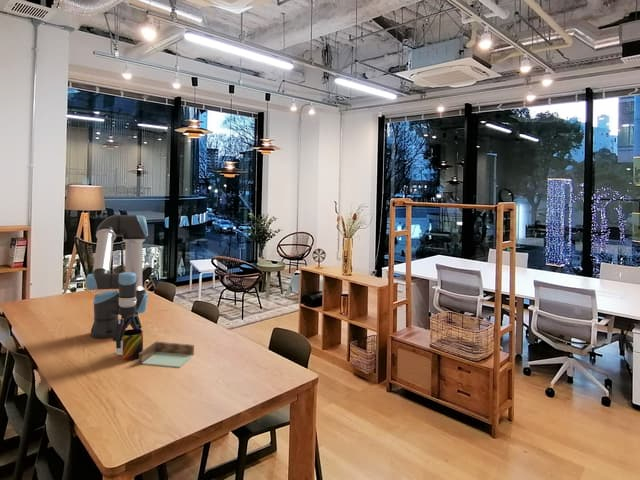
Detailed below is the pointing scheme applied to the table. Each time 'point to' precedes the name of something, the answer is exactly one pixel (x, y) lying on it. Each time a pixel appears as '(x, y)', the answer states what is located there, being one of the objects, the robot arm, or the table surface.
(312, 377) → the table surface
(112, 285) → the robot arm
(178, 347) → the walls
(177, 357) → the mat
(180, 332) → the table surface
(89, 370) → the table surface
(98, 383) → the table surface
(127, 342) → the mug
